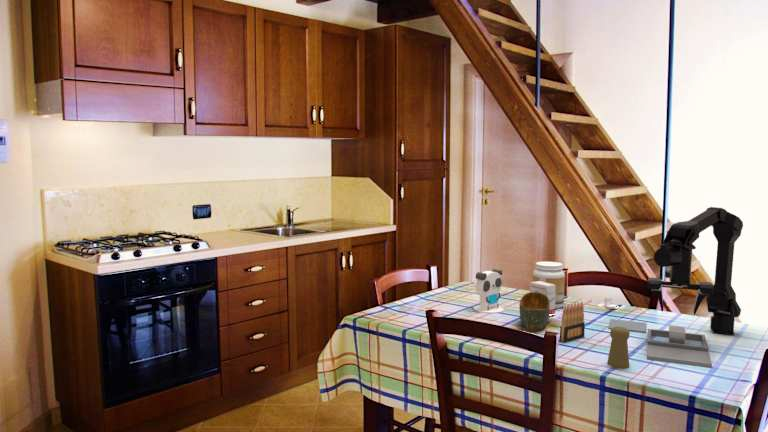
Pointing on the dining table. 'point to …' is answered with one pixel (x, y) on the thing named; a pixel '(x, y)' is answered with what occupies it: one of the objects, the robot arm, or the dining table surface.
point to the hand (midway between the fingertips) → (678, 312)
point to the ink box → (545, 292)
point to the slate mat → (628, 325)
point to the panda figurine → (489, 291)
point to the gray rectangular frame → (678, 349)
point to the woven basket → (534, 311)
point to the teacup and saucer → (608, 303)
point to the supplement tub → (551, 278)
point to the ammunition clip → (572, 323)
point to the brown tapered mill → (619, 348)
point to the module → (676, 335)
